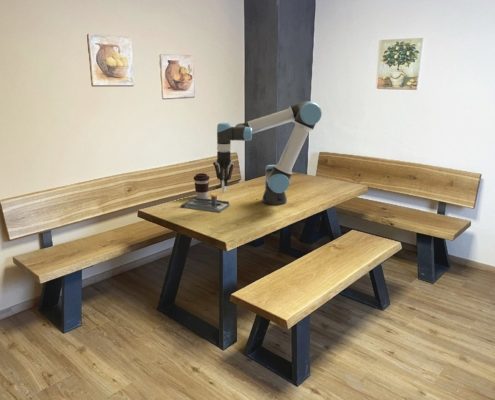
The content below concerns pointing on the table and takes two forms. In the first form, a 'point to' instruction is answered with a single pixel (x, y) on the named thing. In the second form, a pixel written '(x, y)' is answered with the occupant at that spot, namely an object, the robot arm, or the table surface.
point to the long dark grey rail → (210, 200)
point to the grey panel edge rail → (186, 203)
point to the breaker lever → (214, 199)
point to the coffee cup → (201, 185)
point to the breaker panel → (206, 205)
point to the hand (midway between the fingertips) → (223, 191)
